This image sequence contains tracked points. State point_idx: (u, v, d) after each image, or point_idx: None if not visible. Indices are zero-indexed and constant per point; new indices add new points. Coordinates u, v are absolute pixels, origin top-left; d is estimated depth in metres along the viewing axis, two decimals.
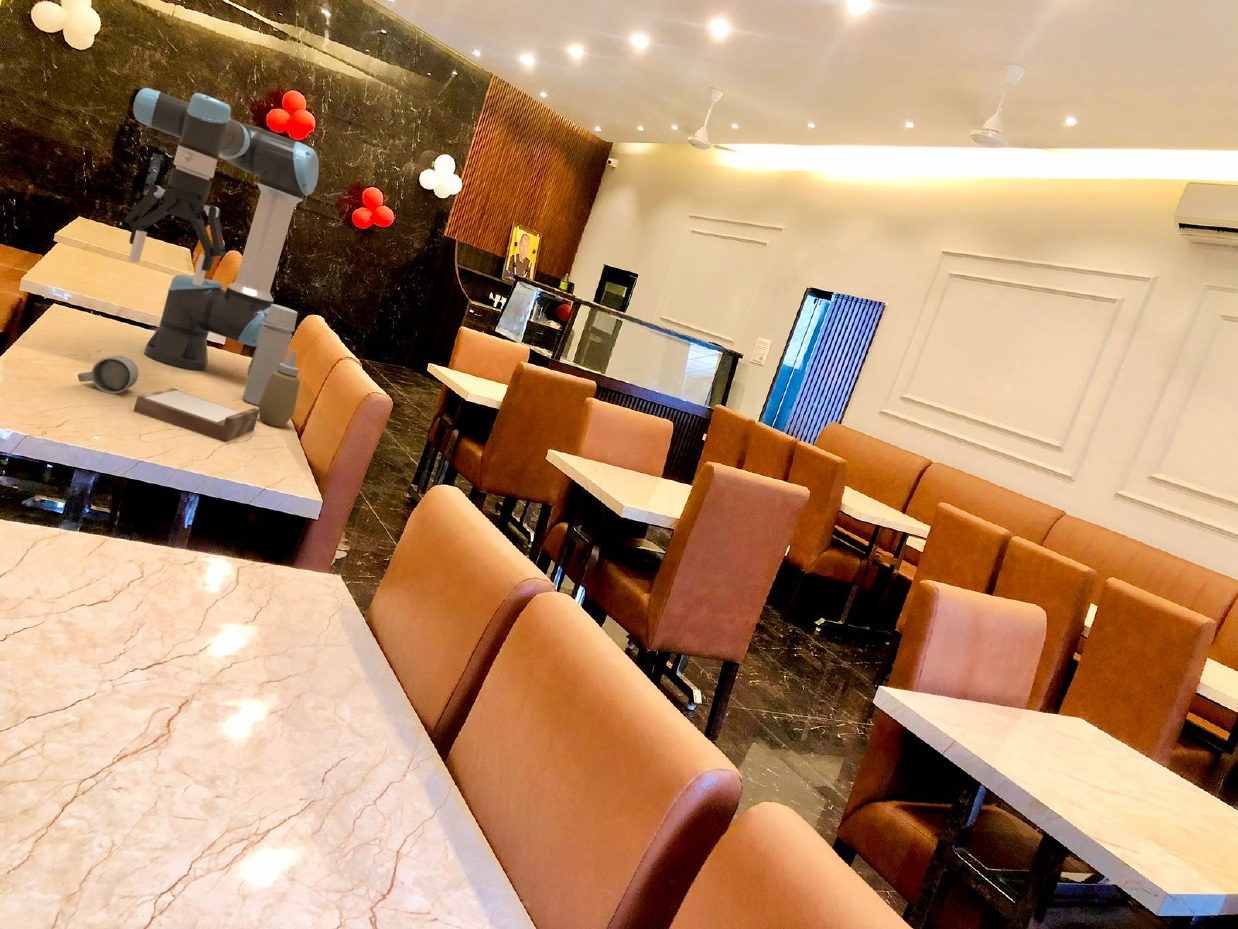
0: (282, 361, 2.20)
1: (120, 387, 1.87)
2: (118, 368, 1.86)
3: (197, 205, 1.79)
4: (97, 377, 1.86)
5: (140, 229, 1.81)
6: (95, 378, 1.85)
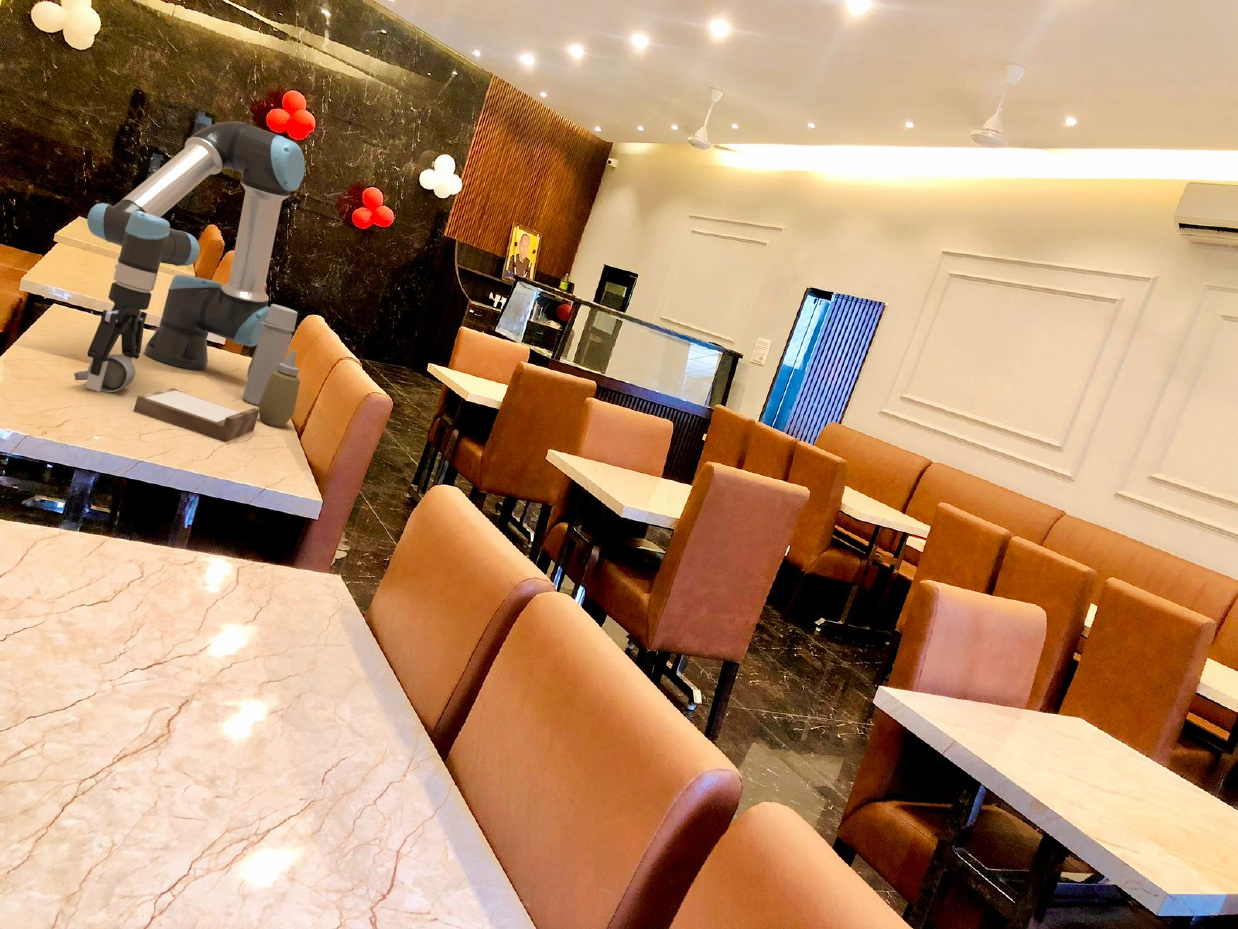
0: (282, 361, 2.20)
1: (116, 386, 1.86)
2: (114, 367, 1.85)
3: None
4: None
5: (126, 354, 1.92)
6: None
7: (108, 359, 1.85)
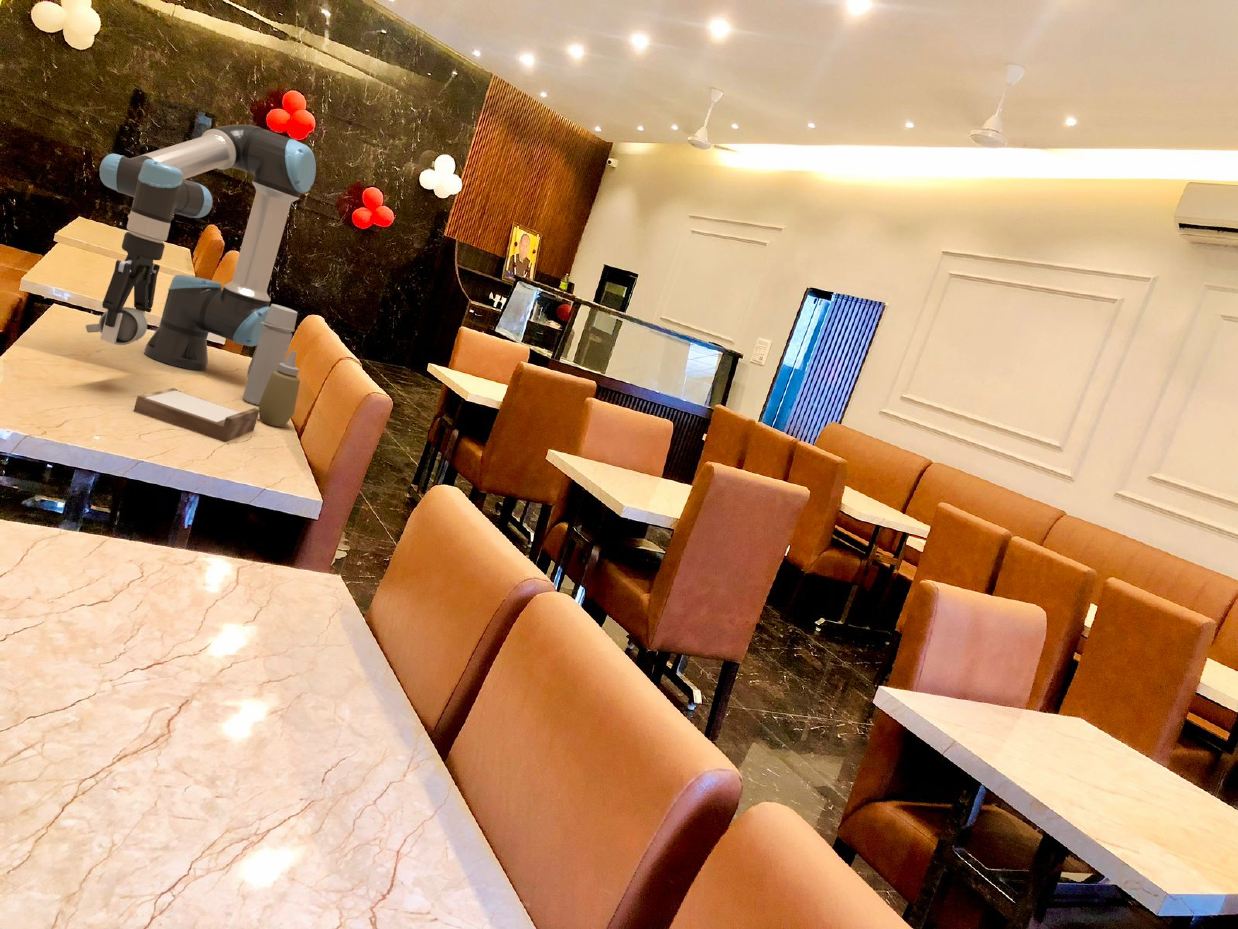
0: (282, 361, 2.20)
1: (128, 338, 1.85)
2: (126, 319, 1.83)
3: None
4: None
5: (139, 308, 1.90)
6: None
7: None
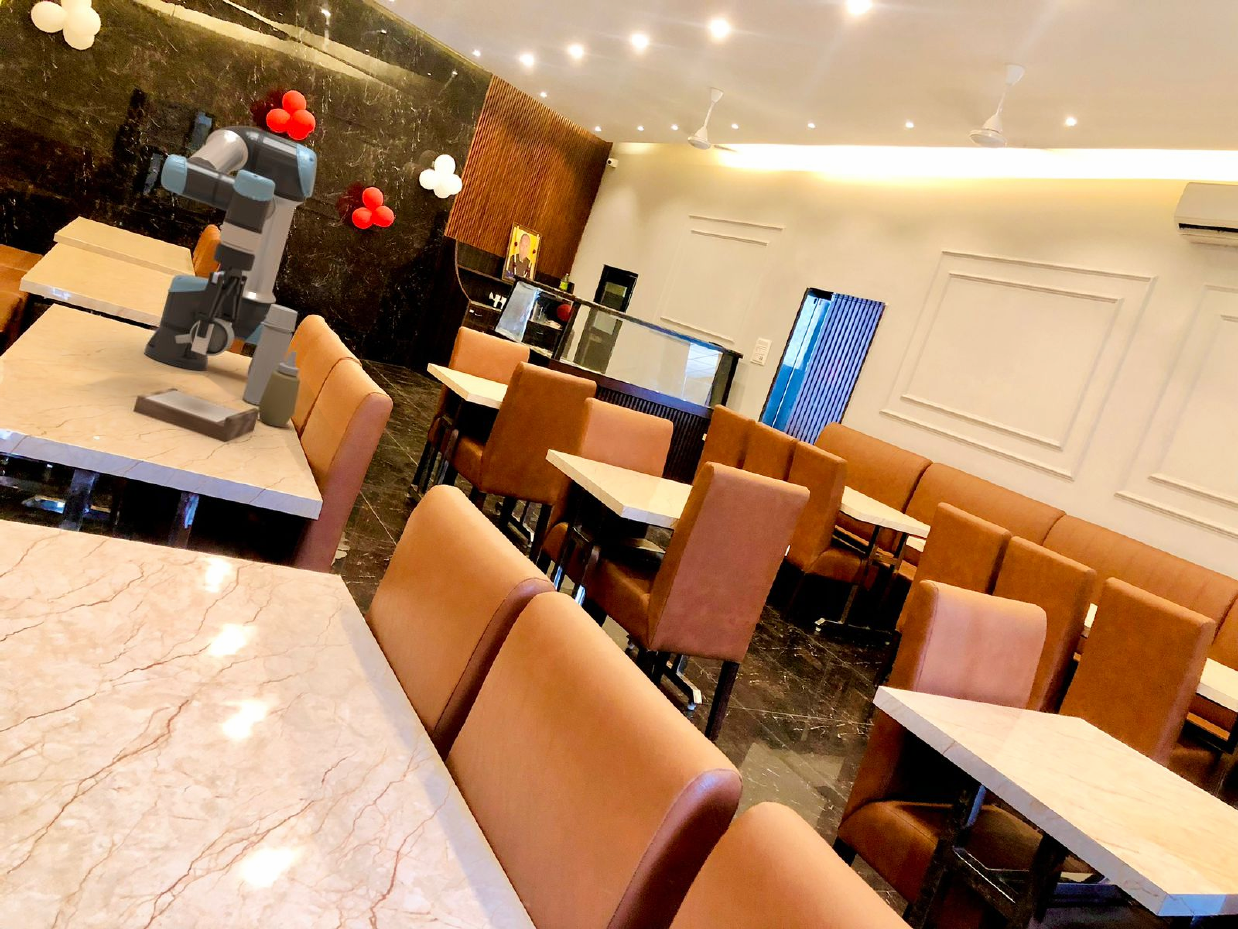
0: (282, 361, 2.20)
1: (217, 349, 1.83)
2: (216, 330, 1.82)
3: None
4: None
5: (226, 319, 1.89)
6: (193, 340, 1.82)
7: None
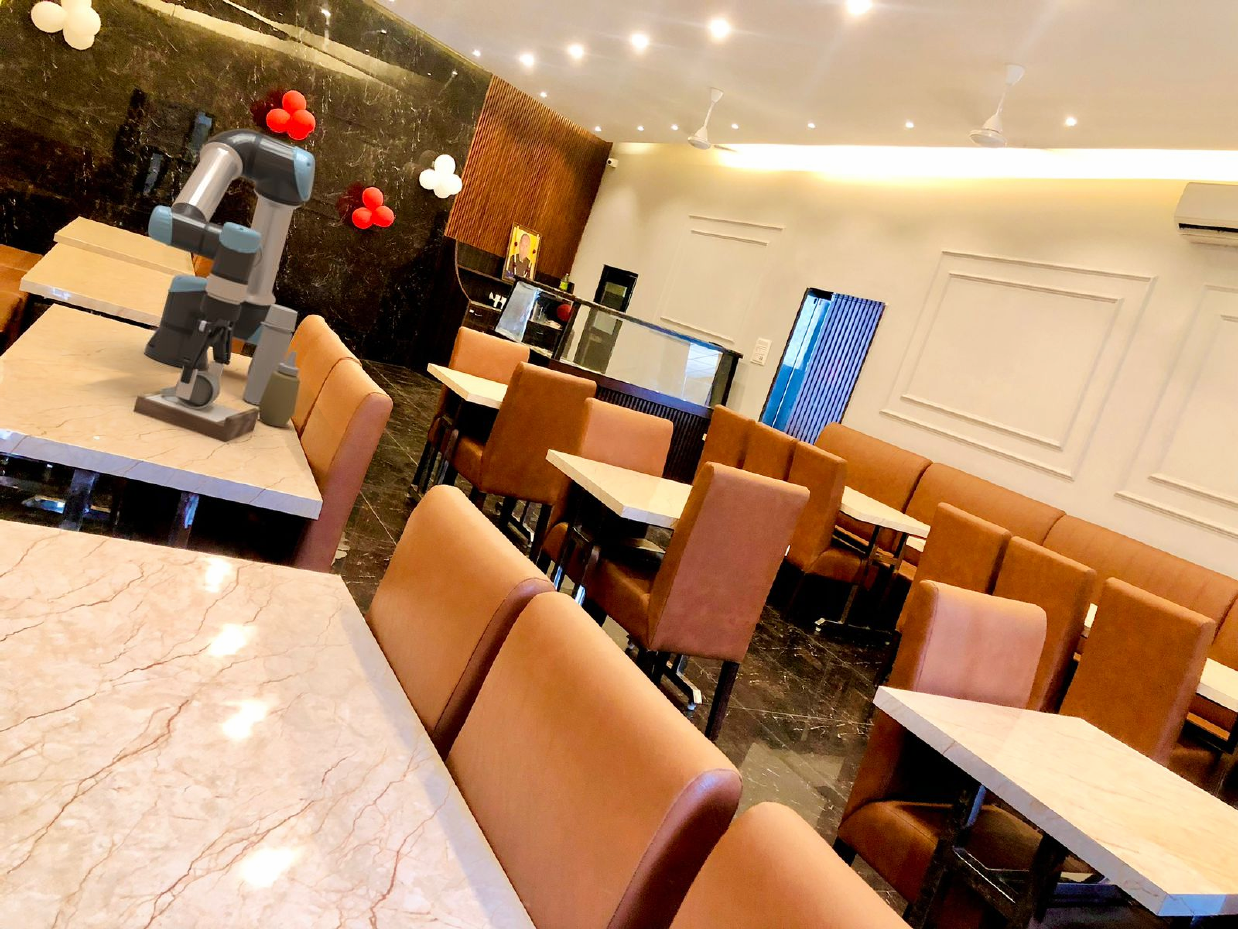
0: (282, 361, 2.20)
1: (203, 402, 1.86)
2: (201, 383, 1.84)
3: None
4: None
5: (218, 361, 1.93)
6: None
7: None
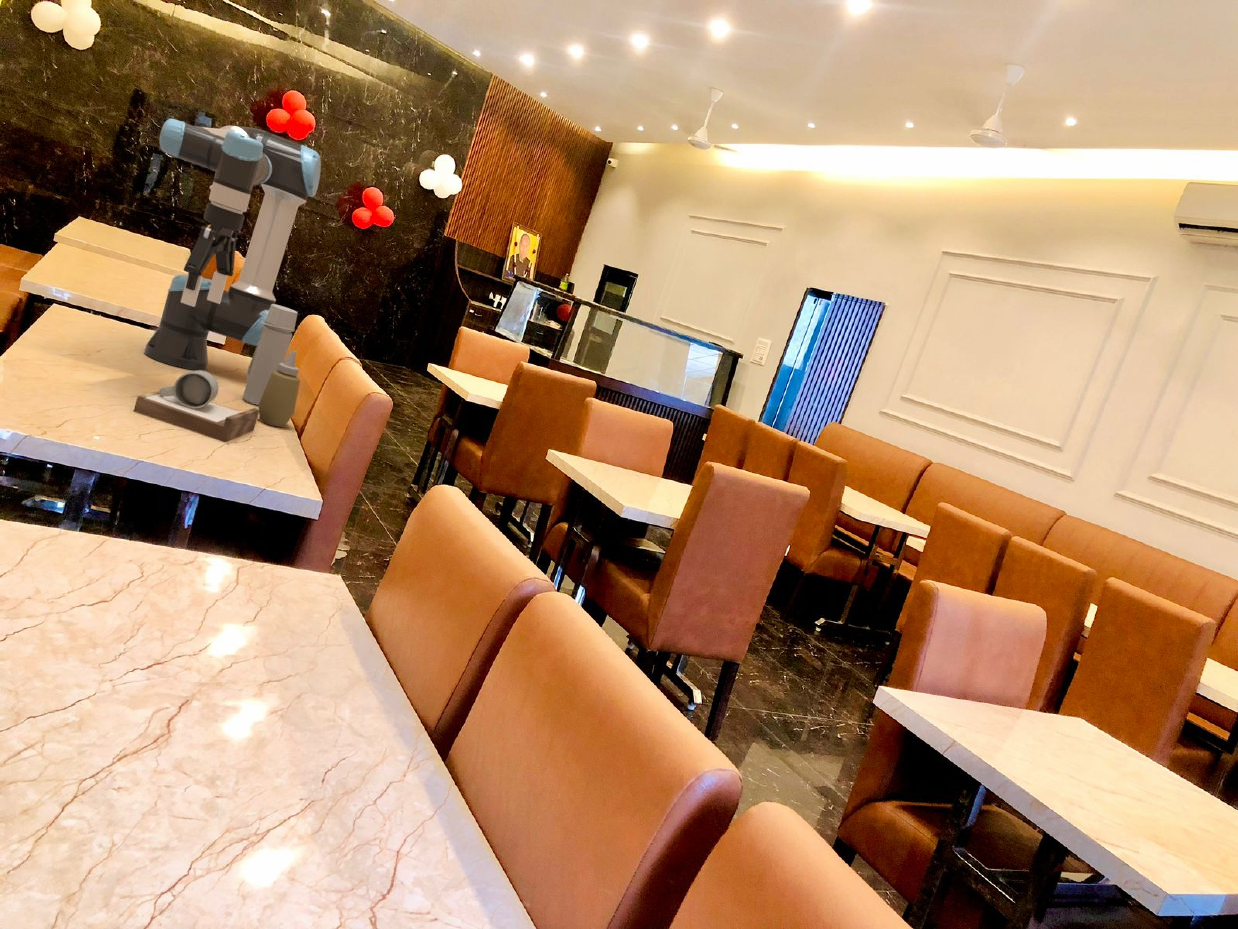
0: (282, 361, 2.20)
1: (201, 402, 1.85)
2: (199, 383, 1.84)
3: None
4: (179, 392, 1.85)
5: (221, 272, 1.96)
6: (177, 393, 1.84)
7: (193, 375, 1.84)
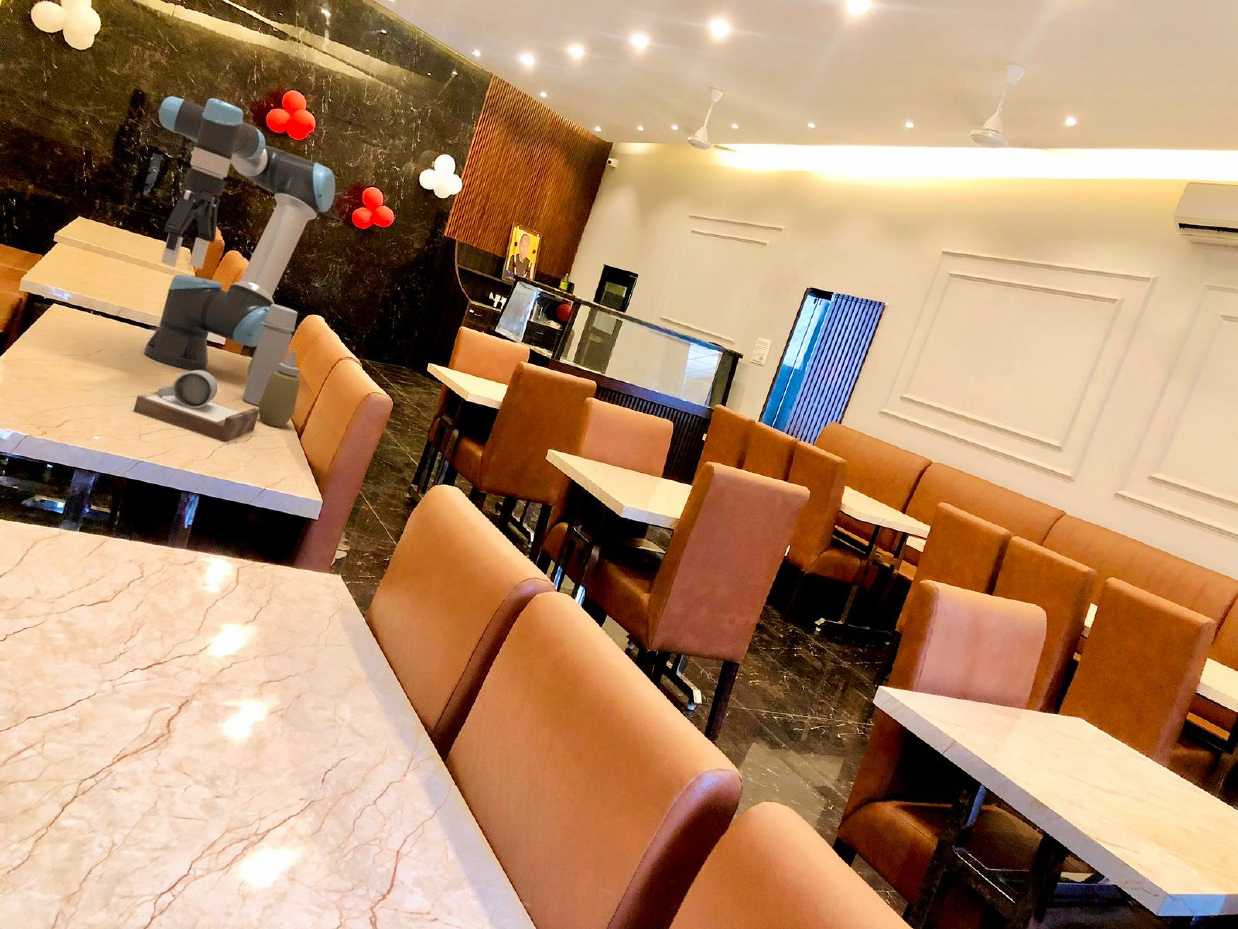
0: (282, 361, 2.20)
1: (200, 402, 1.85)
2: (199, 383, 1.84)
3: None
4: (178, 392, 1.85)
5: (203, 238, 2.02)
6: (176, 393, 1.84)
7: (193, 375, 1.84)
